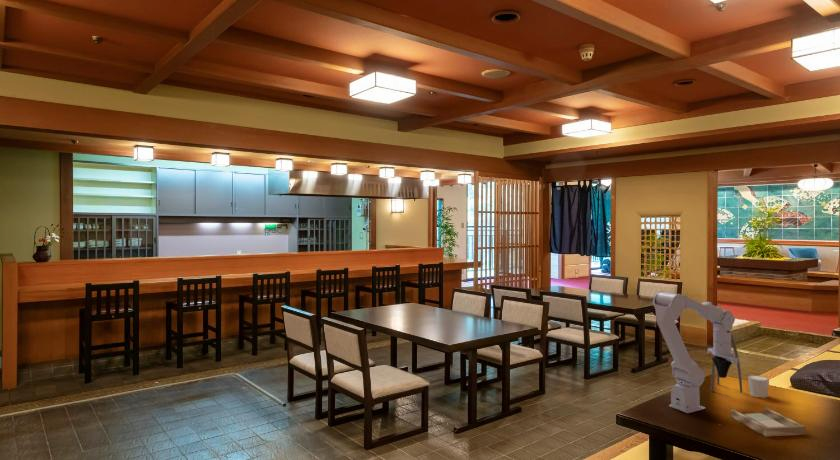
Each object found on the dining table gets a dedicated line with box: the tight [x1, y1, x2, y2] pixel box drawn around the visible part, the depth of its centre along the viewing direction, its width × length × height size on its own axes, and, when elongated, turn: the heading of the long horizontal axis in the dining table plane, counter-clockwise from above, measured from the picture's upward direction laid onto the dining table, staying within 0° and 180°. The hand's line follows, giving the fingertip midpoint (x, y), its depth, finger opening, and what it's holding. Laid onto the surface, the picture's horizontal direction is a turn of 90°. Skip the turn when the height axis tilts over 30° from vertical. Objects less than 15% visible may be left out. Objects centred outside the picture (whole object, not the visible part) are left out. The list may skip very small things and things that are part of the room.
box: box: [730, 407, 807, 438], centre depth 170 cm, size 16×13×2 cm
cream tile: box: [757, 420, 785, 427], centre depth 168 cm, size 6×6×2 cm
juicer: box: [710, 334, 743, 394], centre depth 206 cm, size 10×11×30 cm
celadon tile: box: [744, 412, 774, 422], centre depth 174 cm, size 6×6×2 cm
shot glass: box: [747, 375, 770, 398], centre depth 197 cm, size 7×7×7 cm
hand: (722, 377), depth 192 cm, fingers closed
